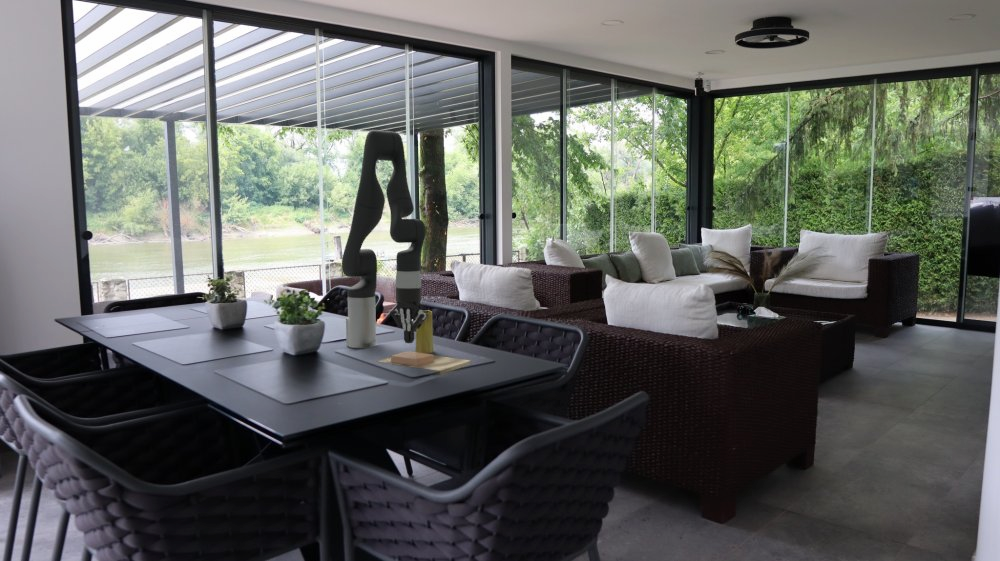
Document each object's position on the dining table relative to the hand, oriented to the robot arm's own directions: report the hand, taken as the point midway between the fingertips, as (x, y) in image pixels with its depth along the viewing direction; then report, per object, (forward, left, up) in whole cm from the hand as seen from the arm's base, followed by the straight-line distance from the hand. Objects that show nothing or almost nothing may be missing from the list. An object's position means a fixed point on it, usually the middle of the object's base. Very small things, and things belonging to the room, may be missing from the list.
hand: (409, 342), depth 220 cm
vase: (-5, +14, -7) cm, 17 cm away
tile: (-4, 0, -5) cm, 6 cm away
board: (+3, +3, -7) cm, 8 cm away
